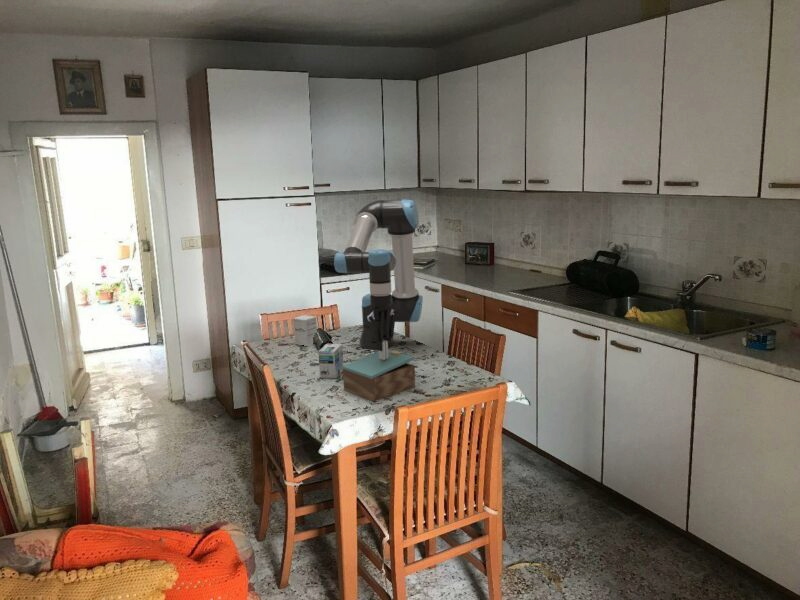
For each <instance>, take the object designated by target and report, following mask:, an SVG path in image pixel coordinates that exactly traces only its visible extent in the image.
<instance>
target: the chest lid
mask: <svg viewBox="0 0 800 600" xmlns="http://www.w3.org/2000/svg"><path fill="white" fill-rule="evenodd" d="M414 360H415V357H414V356H412V355H409V354H405V353H402V352H401V351H398V350H392V349H390V348H389V349H388V359H386V360H382V359H379V351H378V350H377V351H375V352H373V353H370V354H369V355H366V356H364V357H362V358H359V359H357V360H354V361H352V362H349V363H347V364H345V365H344V364H343V365H344V366H343V369H345V370H347V371H350V372H353V373H356V374H359V375H362V376H365V377H368V378H370V379H373V378H375V377H377V376H379V375H381V374H384V373H386V372H388V371H390V370H392V369H394V368H397V367H399V366H401V365H403V364H405V363H409V362H412V361H414Z"/></svg>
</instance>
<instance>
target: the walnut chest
mask: <svg viewBox="0 0 800 600" xmlns="http://www.w3.org/2000/svg"><path fill="white" fill-rule="evenodd" d="M415 367H416V366H415V364H412V363H409V362H407V363H405V364H403V365H401V366H399V367H397V368H394V369H392V370H390V371H388V372H386V373H384V374H381V375H379V376H377V377H375V378H373V379H370V378H368V377H365V376H362V375H359V374H356V373H353V372H350V371H347V370H345V369H343V372H342V376H343V390H344V391H346V392H348V393H350V394H353V395H354V396H355V395H356V396H358V397H360V398H363V399H366V400H368V401H371V402H375V401H377V400H378V401H379V400H380V398H381V399H383V397H384V398H386V397H388V396H389V397H390V396H392V395H395V394H398V393H400V392H403V391H407V390H409V389H412V388H415V387H416V371H415V370H416V369H415Z"/></svg>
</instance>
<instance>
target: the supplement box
mask: <svg viewBox="0 0 800 600" xmlns="http://www.w3.org/2000/svg"><path fill="white" fill-rule="evenodd" d="M293 324H294V325H293V327H294V328H293V329H294V343H295V344H298V345H297V346H300V345H304V346H303V347H305V346H308V347H310V346H309V345H311V344H313V337H314V335H315V333H316V332H317V333H318V330H317V328H318V327H317V316H314V315H313V316H312V315H306V314H304V315H299V316H297V317H294V318H293ZM311 346H312V345H311Z"/></svg>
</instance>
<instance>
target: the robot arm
mask: <svg viewBox="0 0 800 600" xmlns="http://www.w3.org/2000/svg"><path fill="white" fill-rule="evenodd" d="M355 215H356V216H355V217H354V223H353V224H354V228H353V229H352V232H351V235H350V236H349V238H348V239H349V240H348V242H347V244H346V247H345V248H344V251H340V252H337V253H335V254H334V258H333V264H334V270H335V271H336V272H337V273H340V274H341V273H342V274H363V273H364V274H369V293H368V294H365V295H364V296H362V298H361V313H362V314H361V315H362V330H361V335H360V338H359V347H361V348H364V349H368V350H377V351H379V359H382V360H386V359H388V349H389V350H390V348H391V347H392V346H393V345H394V344H395V343H394V342H395V341H394V333H395V324H396V323H417V322H419V321H420V319H421V317H422V316H421V315H422V311H423V310H422V309H423V301H424V299H423V295H421V294H420V293H419V290H418V289H417V288H416V286H415V285H416V284H415V268H414V267H415V266H414V265H415V264H414V263H415V262H414V247H413V235H414V234H415V233H416V229H418V228H419V225H420V221H419V220H420V219H419V212H418V208H417V204H416V202H415V201H414V200H412V199H404V198H402V199H383V200H381V199H378V200H374V201H372V202H369V203H367V204H365V205H364V206H363V207H361V208H360V210H359V211H358V212H357V214H355ZM377 229H387V234H388V235H389V236H390V237H391V245H392V246H391V248H392V251H390V250H388V249H381V248H380V249H372V250H369V251H367V249H368V245H369V242H370V240H371V237H372V234H373V233H374V232H375V231H376V230H377ZM391 271H393V278H394V279H393V281H394V290H392V279H391V277H392V276H391Z"/></svg>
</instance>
